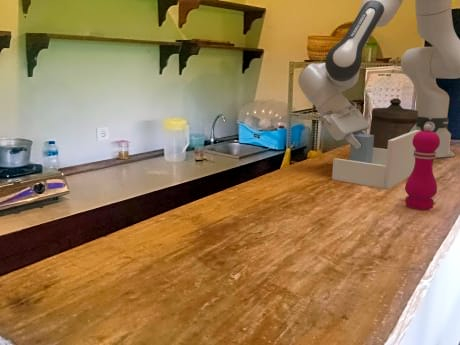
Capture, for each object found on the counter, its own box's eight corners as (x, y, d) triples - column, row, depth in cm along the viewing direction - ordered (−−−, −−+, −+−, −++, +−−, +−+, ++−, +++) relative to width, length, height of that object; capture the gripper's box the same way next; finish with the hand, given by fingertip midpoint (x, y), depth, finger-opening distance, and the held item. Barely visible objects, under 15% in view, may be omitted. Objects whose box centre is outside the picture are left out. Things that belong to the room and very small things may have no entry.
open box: (364, 167, 156) (368, 125, 152) (415, 175, 146) (420, 130, 143) (331, 182, 137) (334, 134, 133) (387, 192, 127) (392, 140, 124)
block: (355, 162, 147) (358, 133, 144) (371, 164, 144) (374, 135, 142) (349, 165, 143) (351, 135, 141) (365, 167, 140) (367, 137, 138)
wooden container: (419, 168, 156) (426, 100, 151) (373, 167, 157) (379, 99, 151) (403, 158, 171) (410, 96, 165) (362, 158, 171) (367, 96, 166)
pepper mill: (401, 207, 115) (409, 124, 110) (405, 199, 121) (413, 121, 116) (433, 212, 112) (443, 127, 107) (436, 204, 118) (446, 123, 113)
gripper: (327, 105, 135) (358, 144, 132) (356, 101, 151) (383, 135, 147) (312, 120, 139) (341, 157, 135) (342, 114, 154) (368, 147, 151)
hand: (364, 145), depth 141 cm, fingers closed on block, 5 cm apart
